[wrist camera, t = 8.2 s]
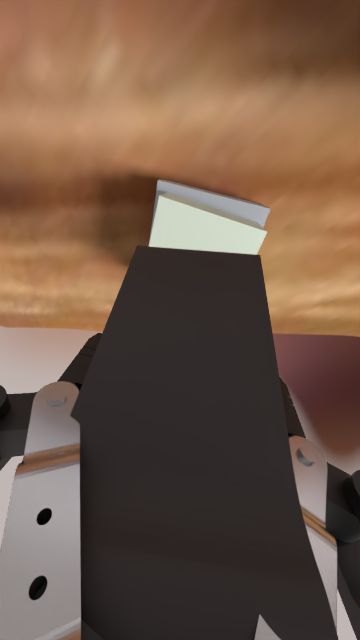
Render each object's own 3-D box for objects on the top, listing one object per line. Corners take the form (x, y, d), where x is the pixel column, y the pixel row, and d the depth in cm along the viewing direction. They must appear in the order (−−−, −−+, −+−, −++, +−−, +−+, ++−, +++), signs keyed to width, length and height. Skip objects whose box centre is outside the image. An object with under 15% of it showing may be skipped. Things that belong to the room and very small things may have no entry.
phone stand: (139, 243, 12) (-344, 705, 1) (259, 253, 11) (730, 979, 1) (144, 371, 16) (41, 684, 6) (228, 381, 16) (261, 731, 6)
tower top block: (257, 222, 25) (267, 231, 20) (222, 300, 30) (224, 321, 26) (167, 192, 24) (159, 195, 20) (148, 277, 29) (138, 294, 25)
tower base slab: (261, 203, 28) (270, 208, 24) (229, 290, 34) (232, 306, 30) (165, 179, 28) (157, 179, 23) (151, 271, 34) (143, 285, 30)
